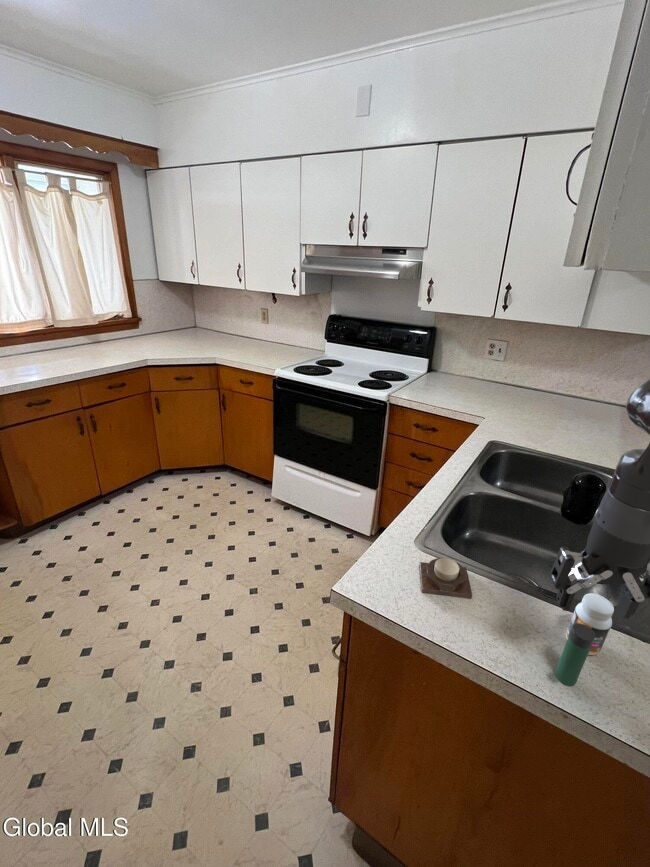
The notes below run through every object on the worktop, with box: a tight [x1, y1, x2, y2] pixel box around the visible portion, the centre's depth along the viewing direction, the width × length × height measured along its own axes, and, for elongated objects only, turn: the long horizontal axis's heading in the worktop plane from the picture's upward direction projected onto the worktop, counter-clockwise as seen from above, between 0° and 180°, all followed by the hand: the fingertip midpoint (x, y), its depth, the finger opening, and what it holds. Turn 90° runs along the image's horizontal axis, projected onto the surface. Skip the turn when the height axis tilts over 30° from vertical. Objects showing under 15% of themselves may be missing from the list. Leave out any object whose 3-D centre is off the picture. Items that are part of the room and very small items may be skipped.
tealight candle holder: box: [419, 557, 473, 600], centre depth 90 cm, size 10×8×3 cm
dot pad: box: [434, 557, 459, 581], centre depth 89 cm, size 5×5×2 cm
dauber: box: [554, 623, 595, 687], centre depth 69 cm, size 3×3×11 cm
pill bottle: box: [565, 592, 615, 656], centre depth 76 cm, size 6×6×10 cm
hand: (592, 610), depth 65 cm, fingers open, 8 cm apart
